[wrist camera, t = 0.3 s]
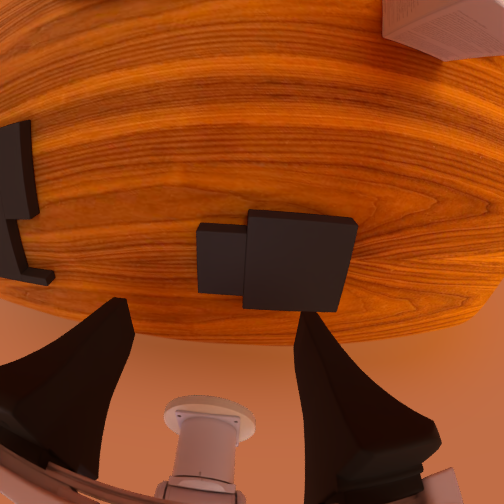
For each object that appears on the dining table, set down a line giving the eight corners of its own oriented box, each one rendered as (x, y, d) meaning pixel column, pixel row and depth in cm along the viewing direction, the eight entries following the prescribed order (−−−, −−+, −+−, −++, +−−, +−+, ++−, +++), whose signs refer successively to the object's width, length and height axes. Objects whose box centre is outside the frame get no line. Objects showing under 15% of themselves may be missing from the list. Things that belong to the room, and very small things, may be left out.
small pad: (332, 301, 25) (336, 312, 24) (201, 294, 25) (198, 305, 23) (352, 217, 21) (358, 225, 20) (200, 206, 21) (195, 213, 20)
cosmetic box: (443, 20, 13) (546, -2, 2) (444, 62, 15) (558, 59, 4) (379, -7, 13) (468, -67, 2) (378, 37, 15) (485, -6, 4)
